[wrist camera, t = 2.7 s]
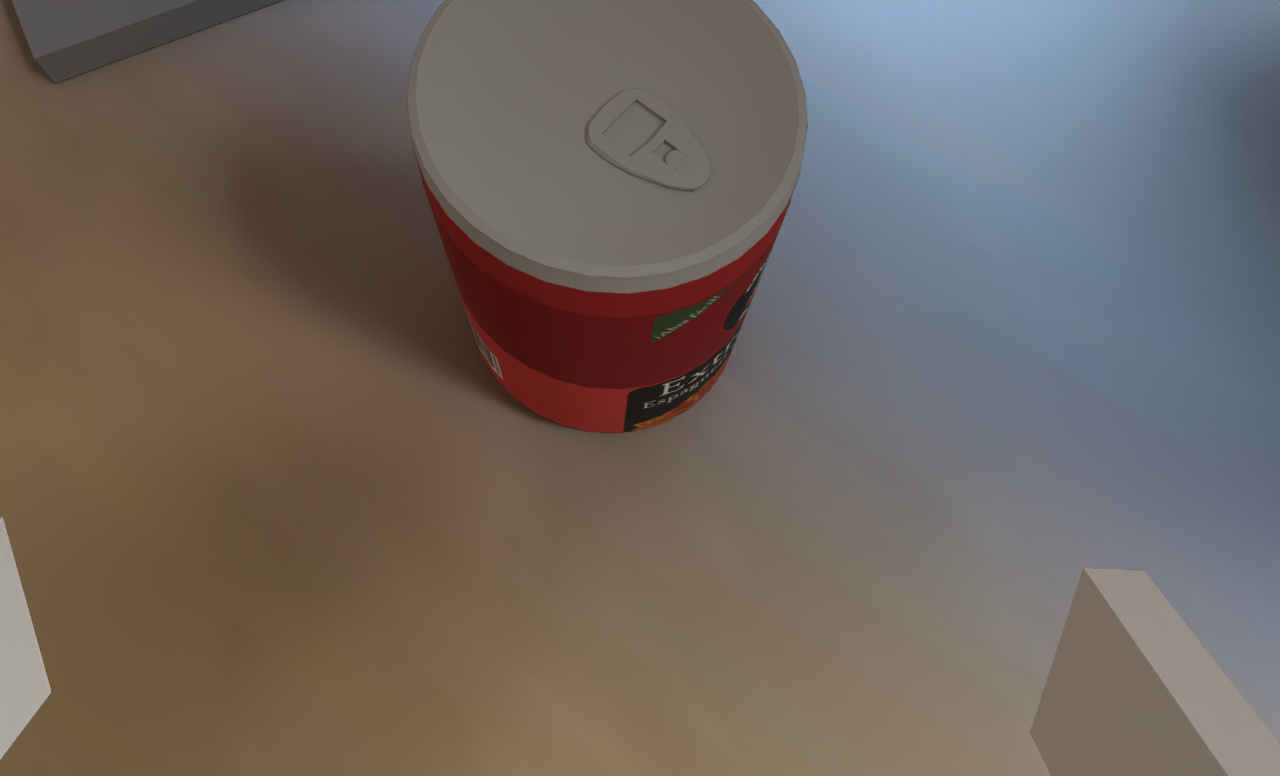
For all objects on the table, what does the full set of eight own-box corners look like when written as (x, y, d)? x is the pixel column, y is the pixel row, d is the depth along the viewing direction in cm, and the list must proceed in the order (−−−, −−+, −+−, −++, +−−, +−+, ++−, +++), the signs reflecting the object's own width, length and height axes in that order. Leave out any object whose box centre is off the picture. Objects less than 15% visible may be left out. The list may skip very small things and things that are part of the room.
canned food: (672, 486, 27) (720, 346, 17) (423, 371, 28) (322, 168, 17) (773, 267, 29) (871, 25, 19) (542, 166, 30) (514, -119, 20)
